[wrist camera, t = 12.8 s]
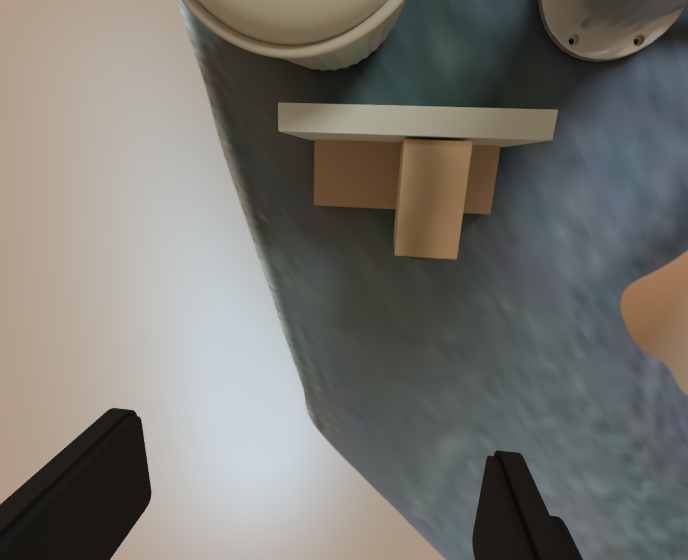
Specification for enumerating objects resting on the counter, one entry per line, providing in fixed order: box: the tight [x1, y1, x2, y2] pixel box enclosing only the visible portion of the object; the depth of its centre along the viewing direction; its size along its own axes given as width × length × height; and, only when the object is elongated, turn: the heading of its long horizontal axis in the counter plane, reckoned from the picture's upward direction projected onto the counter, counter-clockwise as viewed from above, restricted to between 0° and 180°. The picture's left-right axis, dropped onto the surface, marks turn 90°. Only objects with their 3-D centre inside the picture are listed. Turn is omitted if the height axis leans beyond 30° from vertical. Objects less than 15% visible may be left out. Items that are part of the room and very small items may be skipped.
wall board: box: [278, 103, 558, 214], centre depth 34 cm, size 20×8×12 cm, turn 88°
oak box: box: [394, 139, 473, 261], centre depth 34 cm, size 5×10×9 cm, turn 177°
